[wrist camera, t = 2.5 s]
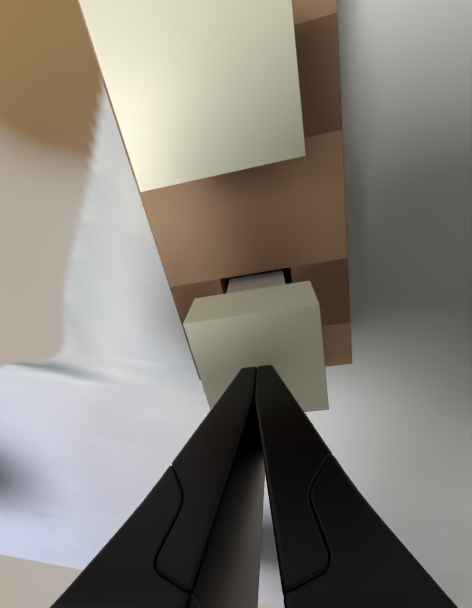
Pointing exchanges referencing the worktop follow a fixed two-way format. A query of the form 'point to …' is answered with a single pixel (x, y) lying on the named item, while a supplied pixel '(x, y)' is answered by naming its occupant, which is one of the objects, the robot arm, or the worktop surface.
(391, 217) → the worktop surface
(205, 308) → the plunger
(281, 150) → the plunger
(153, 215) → the bar
